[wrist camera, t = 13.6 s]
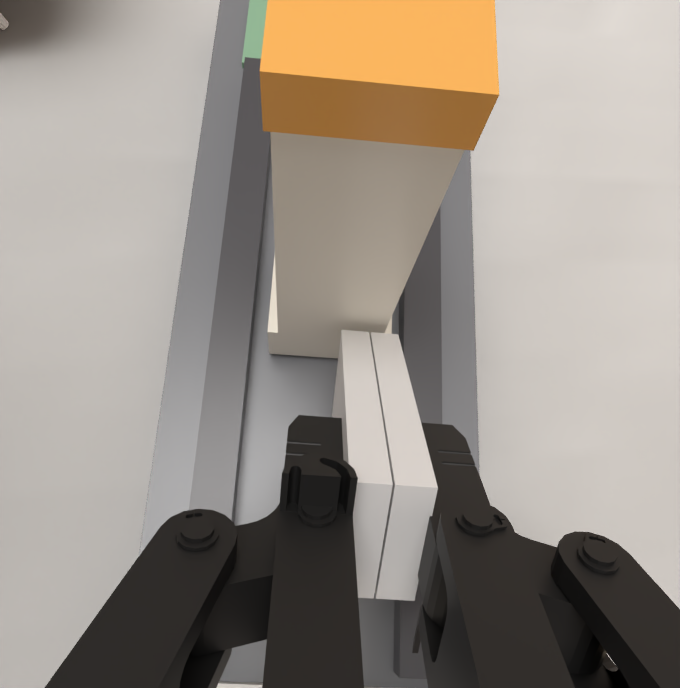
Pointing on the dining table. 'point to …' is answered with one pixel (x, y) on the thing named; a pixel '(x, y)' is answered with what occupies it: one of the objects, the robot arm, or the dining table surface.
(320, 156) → the breaker handle
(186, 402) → the panel
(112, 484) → the dining table surface
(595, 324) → the dining table surface
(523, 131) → the dining table surface
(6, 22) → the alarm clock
